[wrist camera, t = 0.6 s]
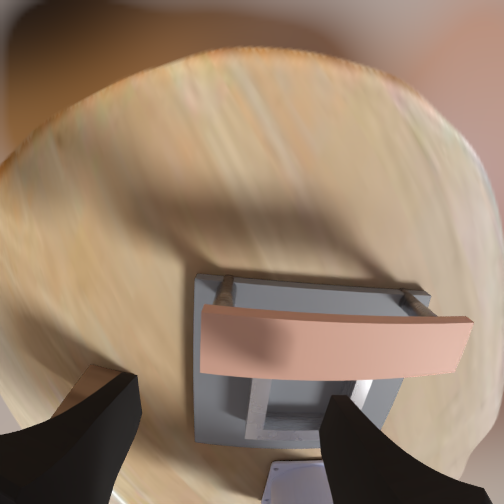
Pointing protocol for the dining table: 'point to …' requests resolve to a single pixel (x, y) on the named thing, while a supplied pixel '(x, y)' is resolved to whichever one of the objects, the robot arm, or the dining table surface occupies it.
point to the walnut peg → (87, 386)
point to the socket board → (284, 392)
